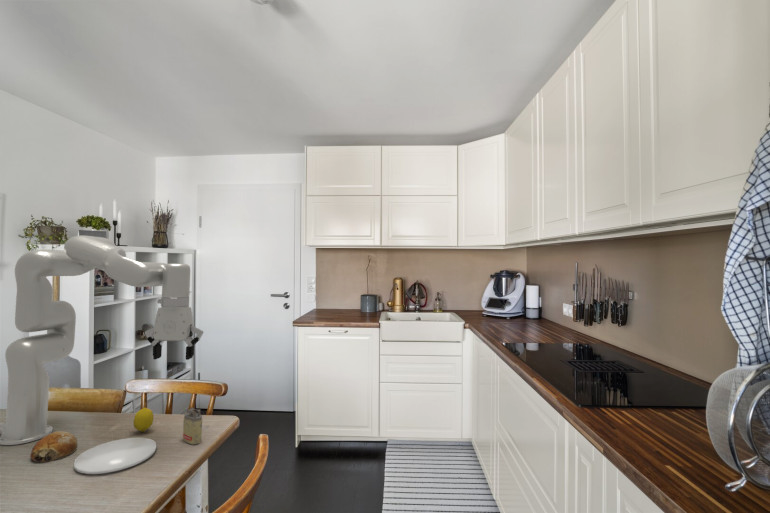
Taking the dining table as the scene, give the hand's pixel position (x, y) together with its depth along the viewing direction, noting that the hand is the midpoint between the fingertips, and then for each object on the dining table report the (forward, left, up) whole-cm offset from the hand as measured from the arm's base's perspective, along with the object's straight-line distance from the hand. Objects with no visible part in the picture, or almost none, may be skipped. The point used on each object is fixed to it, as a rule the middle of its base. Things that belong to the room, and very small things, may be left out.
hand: (173, 358), depth 114 cm
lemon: (-14, +10, -27) cm, 32 cm away
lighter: (+5, +4, -27) cm, 28 cm away
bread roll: (-30, -5, -27) cm, 41 cm away
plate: (-11, -7, -27) cm, 30 cm away
